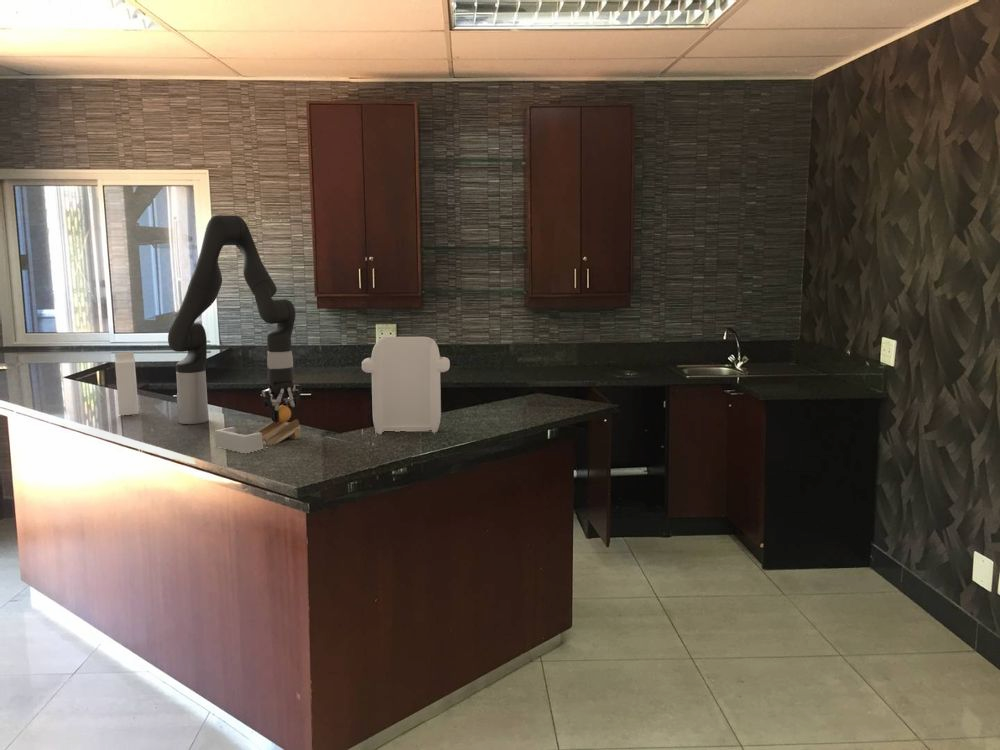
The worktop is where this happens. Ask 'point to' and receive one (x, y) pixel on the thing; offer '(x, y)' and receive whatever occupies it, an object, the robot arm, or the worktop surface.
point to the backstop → (238, 440)
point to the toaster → (406, 384)
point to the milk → (126, 383)
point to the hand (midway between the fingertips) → (283, 420)
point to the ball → (284, 413)
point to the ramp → (279, 431)
